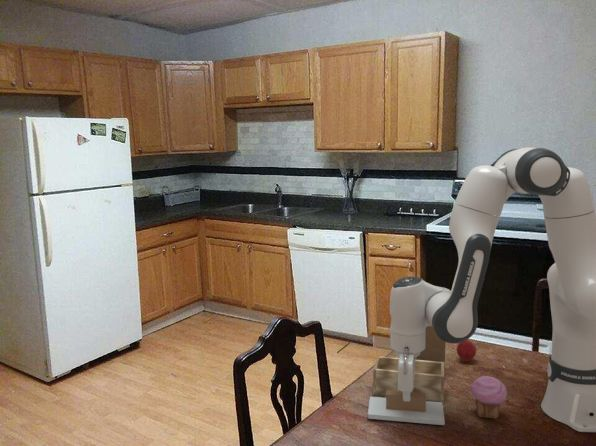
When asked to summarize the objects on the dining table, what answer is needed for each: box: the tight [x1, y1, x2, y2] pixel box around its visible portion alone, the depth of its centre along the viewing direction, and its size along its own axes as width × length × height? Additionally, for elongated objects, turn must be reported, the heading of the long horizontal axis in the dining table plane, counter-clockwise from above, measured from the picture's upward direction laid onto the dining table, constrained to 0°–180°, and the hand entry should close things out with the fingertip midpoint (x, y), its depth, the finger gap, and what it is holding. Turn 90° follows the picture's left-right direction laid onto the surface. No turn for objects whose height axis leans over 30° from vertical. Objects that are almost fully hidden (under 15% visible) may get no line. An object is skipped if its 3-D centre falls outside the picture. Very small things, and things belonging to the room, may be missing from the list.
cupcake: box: [469, 375, 508, 420], centre depth 131 cm, size 9×9×10 cm
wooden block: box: [416, 326, 447, 379], centre depth 155 cm, size 10×10×20 cm
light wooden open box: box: [372, 355, 445, 405], centre depth 143 cm, size 19×9×8 cm, turn 74°
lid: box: [367, 390, 446, 426], centre depth 132 cm, size 19×9×6 cm, turn 78°
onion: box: [456, 339, 477, 362], centre depth 162 cm, size 6×6×8 cm
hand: (407, 390), depth 132 cm, fingers open, 8 cm apart
